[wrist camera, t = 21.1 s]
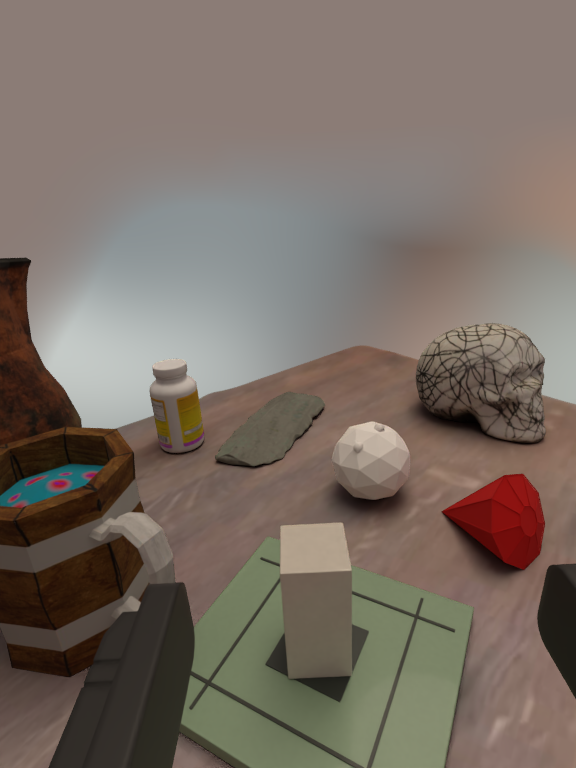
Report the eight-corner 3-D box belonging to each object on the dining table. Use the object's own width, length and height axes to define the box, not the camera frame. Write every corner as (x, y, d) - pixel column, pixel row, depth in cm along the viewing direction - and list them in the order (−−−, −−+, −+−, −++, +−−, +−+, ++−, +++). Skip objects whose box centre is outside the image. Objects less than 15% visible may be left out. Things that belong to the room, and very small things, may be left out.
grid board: (472, 617, 37) (474, 606, 37) (422, 890, 23) (423, 877, 22) (268, 545, 46) (267, 535, 46) (140, 706, 32) (137, 694, 32)
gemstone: (401, 522, 46) (488, 535, 38) (433, 456, 51) (517, 454, 42) (449, 570, 49) (539, 591, 41) (475, 503, 53) (562, 510, 45)
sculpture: (476, 459, 59) (489, 351, 54) (397, 402, 77) (401, 317, 71) (565, 436, 63) (586, 335, 58) (471, 387, 81) (480, 306, 75)
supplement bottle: (208, 432, 71) (197, 355, 66) (200, 453, 64) (188, 371, 60) (166, 434, 71) (152, 357, 66) (154, 456, 65) (138, 373, 60)
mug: (-28, 629, 39) (-93, 486, 33) (104, 535, 49) (72, 413, 44) (114, 767, 29) (55, 594, 23) (244, 612, 39) (225, 466, 33)
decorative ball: (406, 550, 48) (365, 464, 44) (344, 518, 57) (305, 444, 53) (453, 497, 52) (420, 413, 48) (388, 475, 61) (355, 402, 56)
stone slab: (327, 411, 78) (275, 397, 81) (329, 397, 76) (276, 384, 80) (271, 483, 59) (207, 461, 62) (272, 466, 58) (207, 445, 61)
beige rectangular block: (343, 620, 36) (343, 521, 32) (352, 676, 32) (352, 570, 28) (287, 623, 36) (280, 525, 32) (288, 679, 32) (279, 573, 28)
